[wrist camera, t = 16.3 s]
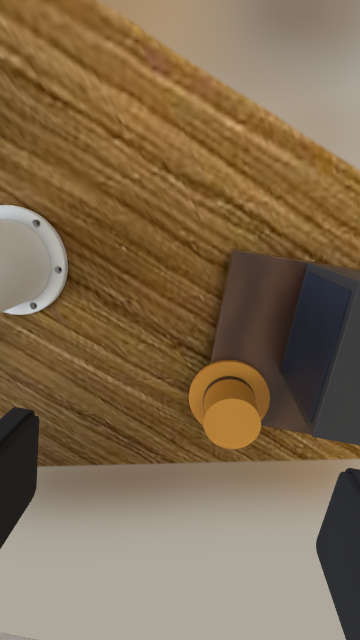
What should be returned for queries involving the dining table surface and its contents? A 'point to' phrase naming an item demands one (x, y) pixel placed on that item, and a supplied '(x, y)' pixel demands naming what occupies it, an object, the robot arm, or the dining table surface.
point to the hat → (229, 402)
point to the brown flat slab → (262, 324)
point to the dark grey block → (326, 353)
